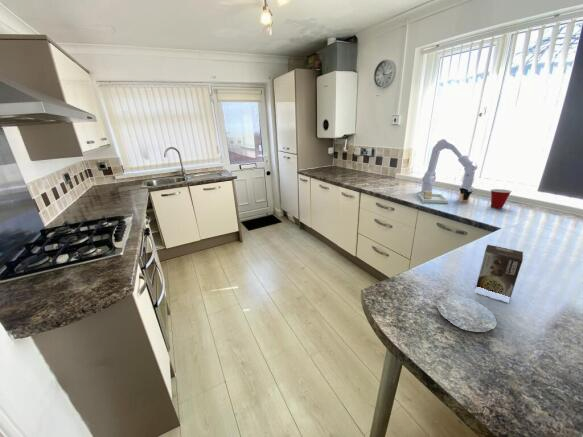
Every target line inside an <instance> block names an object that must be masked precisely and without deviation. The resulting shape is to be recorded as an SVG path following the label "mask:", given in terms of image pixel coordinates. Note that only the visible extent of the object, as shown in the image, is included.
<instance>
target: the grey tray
mask: <svg viewBox="0 0 583 437" xmlns="http://www.w3.org/2000/svg"><path fill="white" fill-rule="evenodd" d="M417 197H418V198H419V200H420V202H422V203H423V204H440V205H441V204H442V205H447V204H449V199H447V197H445V196H444V195H443V194H442V193H432V198H431V199H425V198H424V193H420V192H419V193H418V194H417Z"/></svg>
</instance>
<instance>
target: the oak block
mask: <svg viewBox="0 0 583 437" xmlns="http://www.w3.org/2000/svg"><path fill="white" fill-rule="evenodd" d="M432 194H433V191H432V192H431V191H424V198H425V199H431V198H432Z"/></svg>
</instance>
